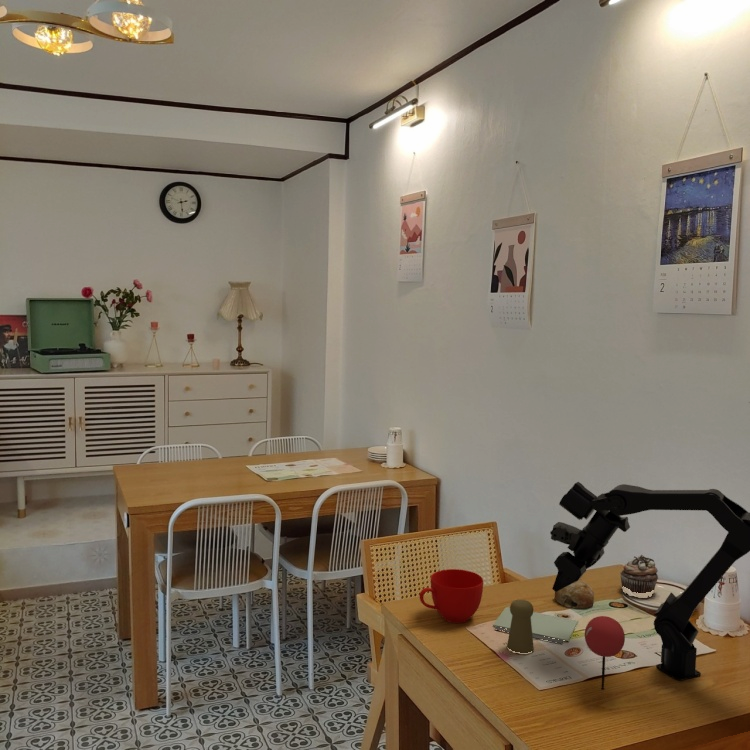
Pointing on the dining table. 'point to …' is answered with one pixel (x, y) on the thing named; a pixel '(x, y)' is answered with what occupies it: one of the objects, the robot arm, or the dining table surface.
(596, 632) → the lollipop
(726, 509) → the robot arm
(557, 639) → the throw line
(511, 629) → the olive game pawn
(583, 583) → the bread roll
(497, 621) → the green spiral notebook
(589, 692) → the dining table surface
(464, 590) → the ceramic cup
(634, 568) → the cupcake
